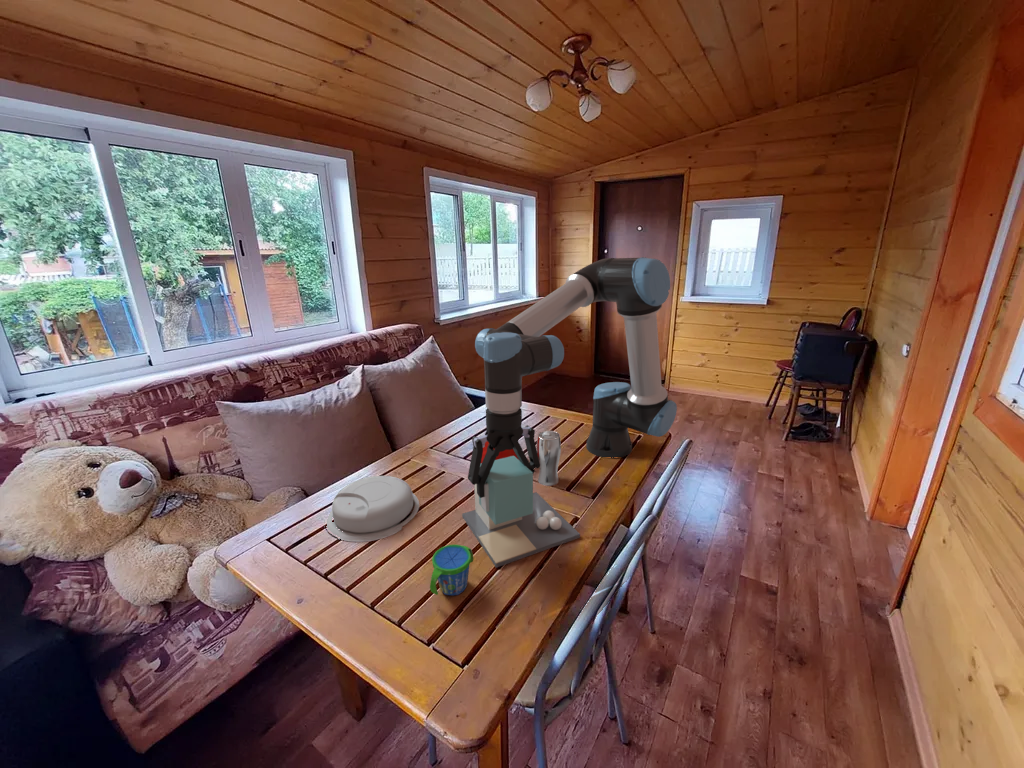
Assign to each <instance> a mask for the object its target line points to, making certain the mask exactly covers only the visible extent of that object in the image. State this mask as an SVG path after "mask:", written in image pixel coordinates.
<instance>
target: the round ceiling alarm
mask: <svg viewBox="0 0 1024 768" xmlns="http://www.w3.org/2000/svg"><path fill="white" fill-rule="evenodd" d="M413 507H414V508H413ZM331 508H332V511H331V512H330V514H329V516H328V519H327V526H326V527H327V528H328V530H330V531H331V532H332V533H333V534H335V535H337V536H338V537H340V538H338V540H340V539H341V540H340V541H343V540H344V542H349V543H351V542H352V543H365V542H372V541H373V542H374V541H377V540H381V539H382V540H383V539H386V538H388V537H391V536H393V535H395V534H397V533H398V532H400V531H402V530H403V526H406V525H407V524H408V523H409V522H411V520H412V519H414V517H415V516H416V515H417V513H418V511H419V509H420V501H419V499H418V497H417V495H415V494H414V493H413V490H412V488H411V487H410V484H408V483H407V482H406V481H405V480H403V479H401V478H398V477H395V476H391V475H374V476H367V477H364V478H361V479H358V480H355V481H352V482H350V483H349V484H347V485H346V486H344V487H343V488H342V489H341V490H339V491H338V493H337V494H336V495H335V497H334V498H333V502H332V505H331ZM412 509H413V511H412ZM410 512H412V513H410ZM409 514H410V515H409ZM408 515H409V516H408ZM407 516H408V517H407ZM332 517H333V518H334V522H332ZM405 518H406V519H405ZM404 519H405V520H404ZM403 520H404V521H403ZM401 521H402V522H401ZM336 527H337V528H336ZM338 529H340V530H338ZM342 531H343V532H342Z"/></svg>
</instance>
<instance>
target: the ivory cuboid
mask: <svg viewBox="0 0 1024 768" xmlns="http://www.w3.org/2000/svg"><path fill="white" fill-rule="evenodd" d="M474 506H475V509H474V510H475V511H476V512H477V514H478V515H479V516H480V518H481V519H482V520H483V522H484V523H485V525H486V526H487V527H488V529H489V530H491V529H494V528H497V527H500V526H503V525H506V524H510V523H513V522H516V521H519V520H522V517H519V518H516V519H513V520H510V521H506V522H503V523H500V524H497V525H495V523H494V522H493V521H492V520H491V518H490V517H489V516H488V514H487V513H486V512H485V511H484V509H483V508H482V507H481V505H480V504H479V496H478V494H477V484H475V485H474Z"/></svg>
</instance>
